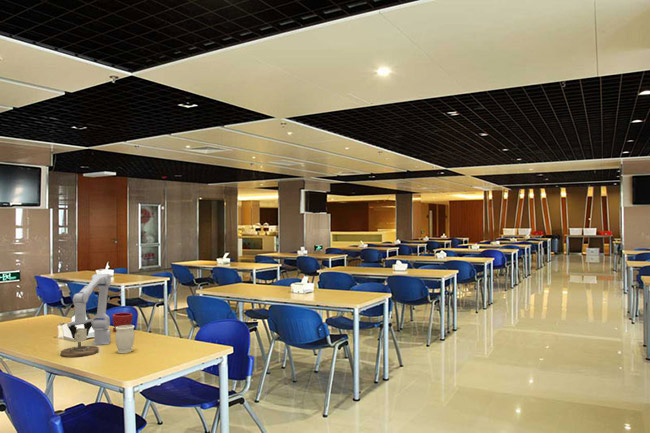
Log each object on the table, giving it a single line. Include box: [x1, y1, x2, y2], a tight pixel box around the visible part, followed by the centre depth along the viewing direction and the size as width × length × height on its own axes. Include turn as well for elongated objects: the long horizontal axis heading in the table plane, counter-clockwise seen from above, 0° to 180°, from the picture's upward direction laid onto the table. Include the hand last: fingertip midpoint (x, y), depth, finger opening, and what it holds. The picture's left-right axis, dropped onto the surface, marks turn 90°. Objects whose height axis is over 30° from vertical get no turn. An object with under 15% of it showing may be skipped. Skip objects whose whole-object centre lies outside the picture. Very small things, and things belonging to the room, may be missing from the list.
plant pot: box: [112, 312, 133, 332], centre depth 348 cm, size 13×13×12 cm
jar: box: [114, 324, 135, 354], centre depth 289 cm, size 11×10×15 cm
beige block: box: [73, 327, 88, 343], centre depth 285 cm, size 8×5×6 cm, turn 179°
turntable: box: [60, 342, 100, 358], centre depth 286 cm, size 20×20×4 cm
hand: (80, 336), depth 286 cm, fingers closed on beige block, 7 cm apart
